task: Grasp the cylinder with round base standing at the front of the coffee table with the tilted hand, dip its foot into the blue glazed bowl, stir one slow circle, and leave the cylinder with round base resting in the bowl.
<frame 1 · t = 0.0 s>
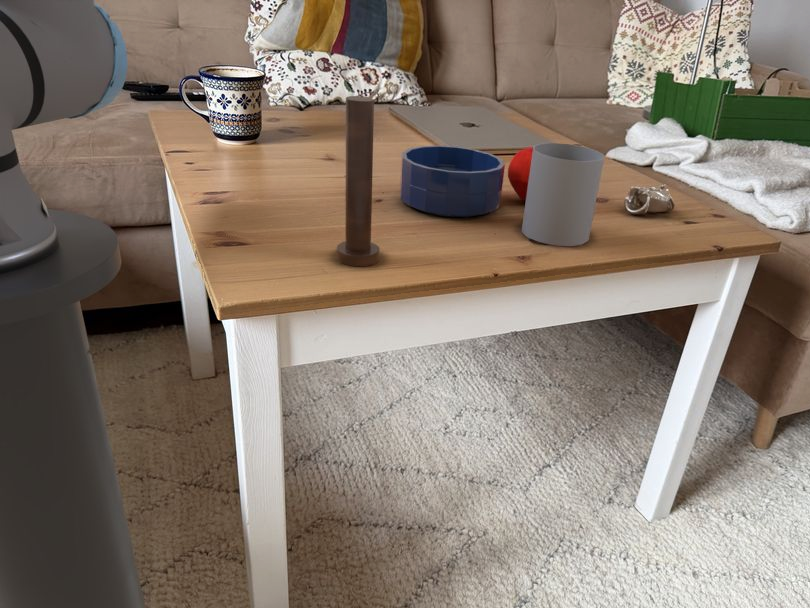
cylinder with round base: (358, 258, 70), on the table
cup: (554, 235, 83), on the table
apple: (531, 202, 94), on the table
bowl: (449, 203, 89), on the table
ornament: (644, 211, 95), on the table
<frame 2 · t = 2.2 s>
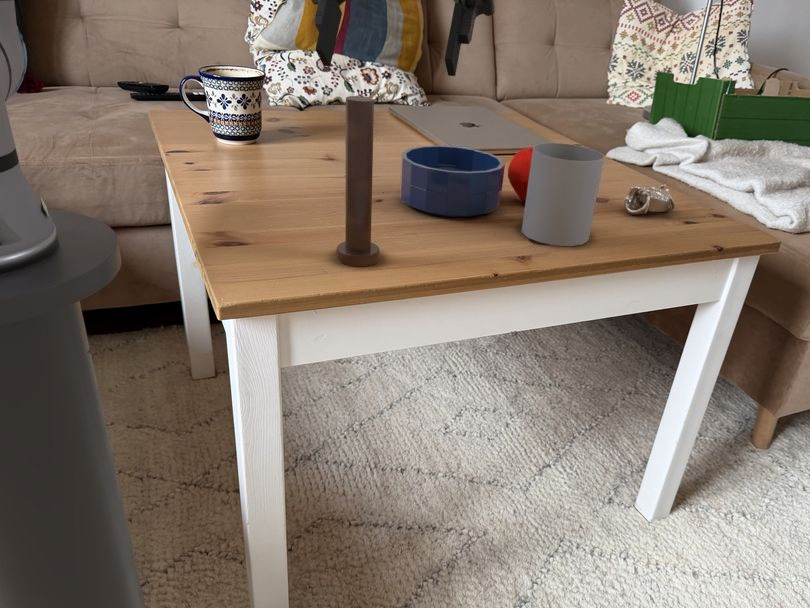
hand: (385, 63, 69), 18 cm above the table, tool tilted 40°, fingers open, 13 cm apart
nothing on the table moved.
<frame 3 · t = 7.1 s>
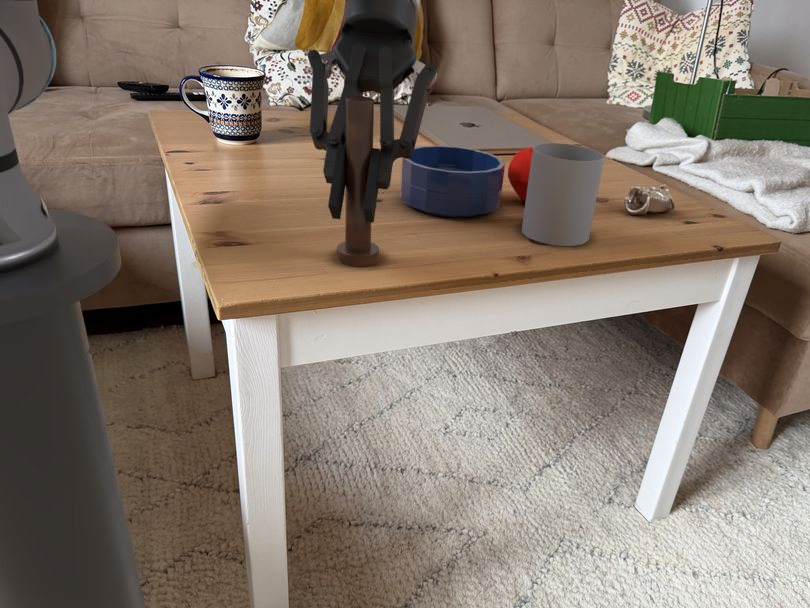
hand: (351, 213, 64), 6 cm above the table, tool tilted 45°, fingers closed on cylinder with round base, 3 cm apart
cylinder with round base: (358, 258, 70), on the table, touching gripper
everything else where it was.
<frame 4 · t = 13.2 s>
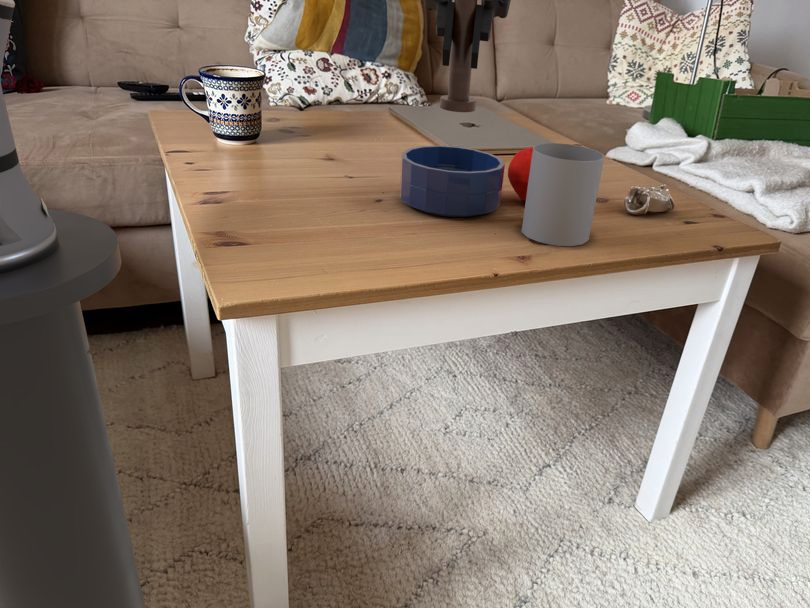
hand: (460, 58, 76), 18 cm above the table, tool tilted 45°, fingers closed on cylinder with round base, 3 cm apart
cylinder with round base: (457, 108, 83), point 12 cm above the table, touching gripper
everything else where it was.
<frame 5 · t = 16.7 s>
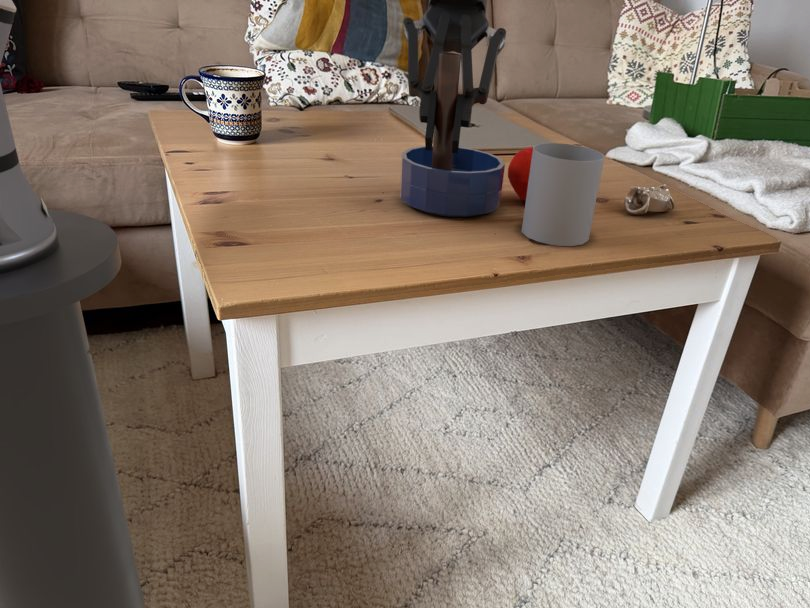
hand: (441, 145, 81), 8 cm above the table, tool tilted 45°, fingers closed on cylinder with round base, 3 cm apart
cylinder with round base: (440, 186, 88), point 2 cm above the table, touching gripper
everything else where it was.
when the fingers open (7 cm above the table, at t = 19.1 s): cylinder with round base stays where it is, resting on bowl.
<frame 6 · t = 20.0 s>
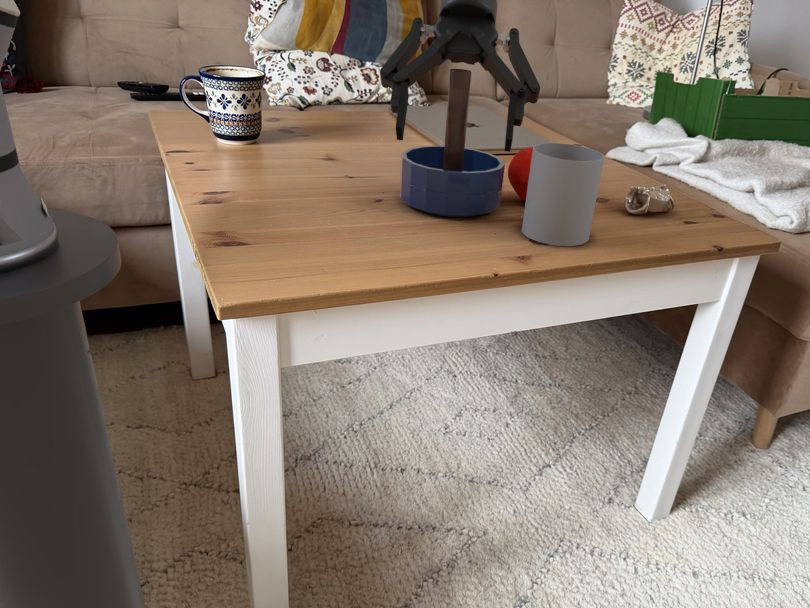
hand: (453, 140, 83), 9 cm above the table, tool tilted 45°, fingers open, 13 cm apart
cylinder with round base: (450, 199, 89), point 1 cm above the table, touching bowl
everything else where it was.
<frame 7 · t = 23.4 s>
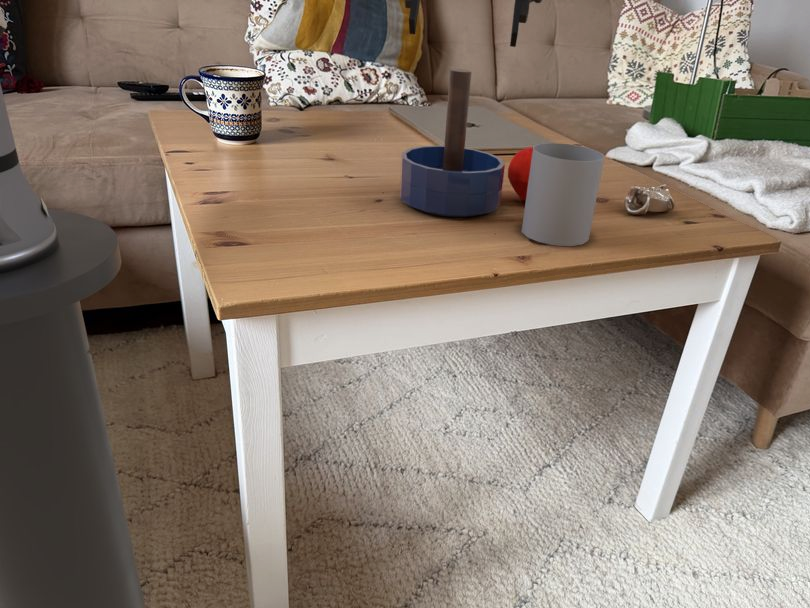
hand: (462, 33, 89), 20 cm above the table, tool tilted 45°, fingers open, 13 cm apart
nothing on the table moved.
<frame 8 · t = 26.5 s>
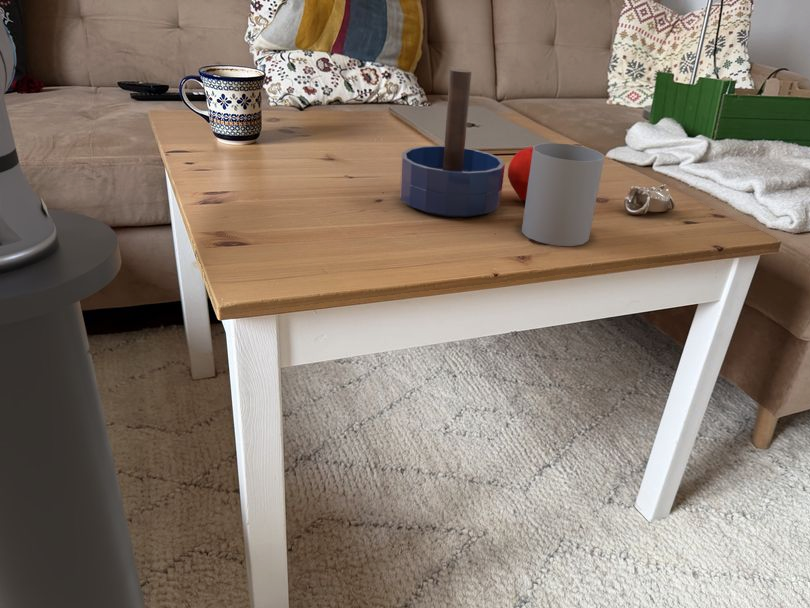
nothing on the table moved.
at the end: cylinder with round base inside the target area in the bowl (0.1 cm from its centre), point 0.6 cm above the bowl's base; cylinder with round base moved 23.4 cm from its start; the gripper is holding nothing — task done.
